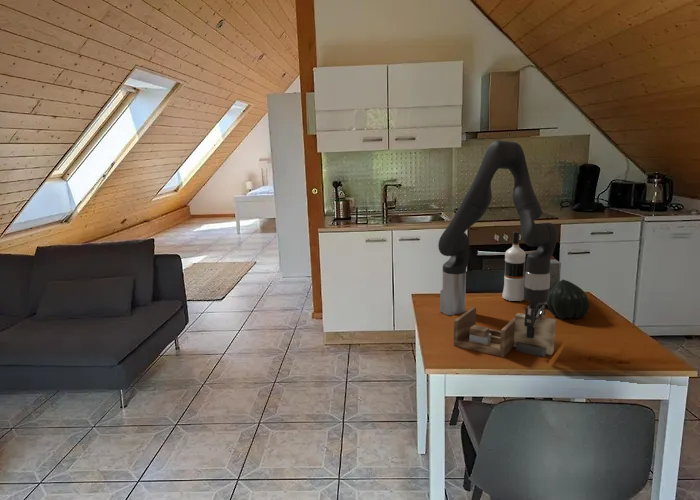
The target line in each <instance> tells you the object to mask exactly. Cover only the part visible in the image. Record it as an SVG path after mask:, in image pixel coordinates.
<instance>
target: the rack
mask: <svg viewBox="0 0 700 500" xmlns="http://www.w3.org/2000/svg"><path fill="white" fill-rule="evenodd" d="M476 319H477V307H476V306H472V307H471V308H469V309H468V310H465V312H463V313H461V315H459V316H458V317H457V318H455V319H454V320H453V347H458V348H463V349H467V350H471V351H475V352H479V353H482V354H488V355H493V356H495V357H496V356H497V357H501V358H505V356H506V355H508V353H509V352H510V351H511V350H512V349H513V348H515V347H514V328H515V316H514V317H513V318H512V319H511V320H510V321H509V322H508V323H507V324H505V326H504V327H502V328H501V330H498V329H492V328H489V334H491V341H490V347H489V346H485V345H481V344H476V343H472V342H469V337H470V328H471V327H472V326H474V325H477V324H476V322H477V321H476Z"/></svg>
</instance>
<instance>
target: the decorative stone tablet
mask: <svg viewBox="0 0 700 500" xmlns="http://www.w3.org/2000/svg"><path fill="white" fill-rule="evenodd" d="M561 265H562V264H561V262H560V261H558V259H557V258H556V257H554V256H553V255H552V257H551V260H550V288H549V293H550V291H551V290H552V289H553V288H554V287H555V286H556V285H557V284H558V283H559V282H560V281H561V269H562V268H561ZM545 305H547V302H545Z"/></svg>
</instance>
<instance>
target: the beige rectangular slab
mask: <svg viewBox="0 0 700 500" xmlns="http://www.w3.org/2000/svg"><path fill="white" fill-rule="evenodd" d="M514 317H515V328H514V347H513V348H516V343H517V342H522V343H526V344H531V345H536V346H541V347H545V348H546V355H549V356H552V355H553V353H554V352H555V339H556V325H557V319H555V318H549V317H544V316H543V317H539V318H538V321H536V324H535V332H534V338H528V337H527V326H524V323H525V313H522V312H517V313H516V314H514ZM529 323H531V320H530V321H529Z"/></svg>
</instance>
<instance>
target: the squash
mask: <svg viewBox="0 0 700 500" xmlns="http://www.w3.org/2000/svg"><path fill="white" fill-rule="evenodd" d="M546 305H547V308H548V311H549V312H550V313H551V315H553V316H555V317H558V318H559V319H566V318H568V319H572V318H575V319H581V318H584V317H585V316H587V314H588V313H589V309H590V302H589V298H588V296H587V293H586V292H585V291H584V289H582V288H581V287H579V286H578V285H577V284H574V283H573V282H571V281H569V280H566V279H560V282H559V283H558V284H557V285H556V286H555V287H554V288H553V289H552V290H551V291H550V293H549V300H548V301H547V304H546Z"/></svg>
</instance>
